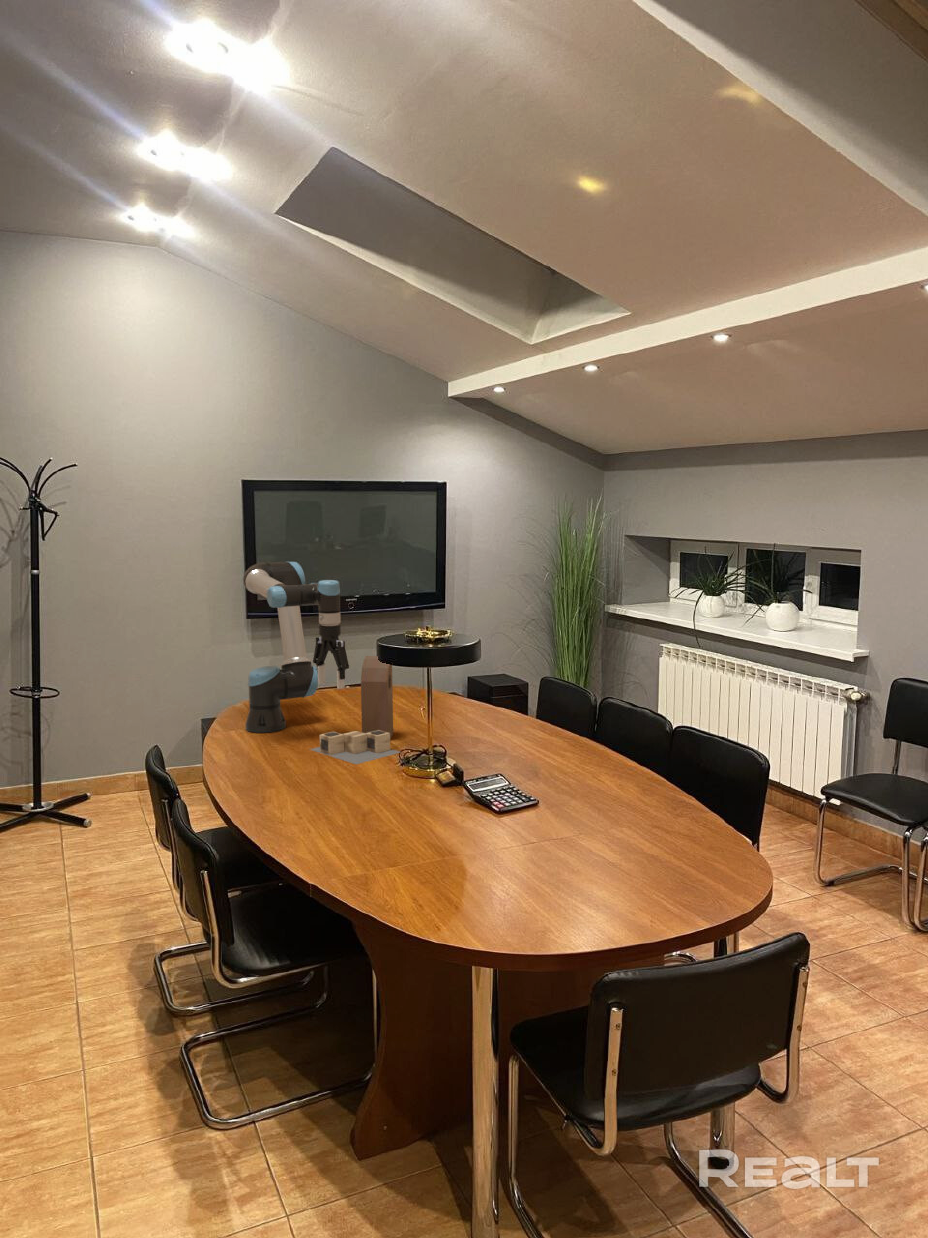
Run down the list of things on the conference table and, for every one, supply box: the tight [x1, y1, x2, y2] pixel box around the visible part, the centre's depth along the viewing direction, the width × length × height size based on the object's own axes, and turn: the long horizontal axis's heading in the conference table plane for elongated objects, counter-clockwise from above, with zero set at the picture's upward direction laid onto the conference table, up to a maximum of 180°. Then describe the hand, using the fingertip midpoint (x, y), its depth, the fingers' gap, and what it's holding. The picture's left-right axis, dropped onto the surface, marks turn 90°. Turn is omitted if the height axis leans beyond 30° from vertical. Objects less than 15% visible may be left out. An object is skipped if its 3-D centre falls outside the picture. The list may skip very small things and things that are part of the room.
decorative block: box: [360, 655, 394, 739], centre depth 339 cm, size 10×10×30 cm
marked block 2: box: [366, 730, 391, 753], centre depth 324 cm, size 6×6×6 cm
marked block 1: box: [319, 731, 344, 755], centre depth 322 cm, size 6×6×6 cm
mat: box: [309, 746, 402, 765], centre depth 324 cm, size 26×20×1 cm
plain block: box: [342, 730, 367, 754], centre depth 323 cm, size 6×6×6 cm
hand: (331, 685), depth 330 cm, fingers open, 10 cm apart
